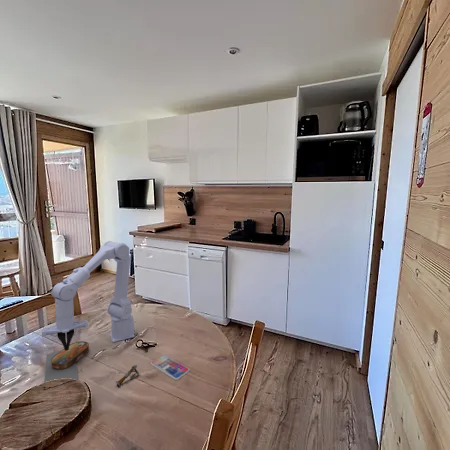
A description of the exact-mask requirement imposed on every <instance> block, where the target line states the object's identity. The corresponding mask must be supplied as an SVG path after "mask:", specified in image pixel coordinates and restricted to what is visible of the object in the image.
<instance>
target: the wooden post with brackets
mask: <svg viewBox="0 0 450 450" xmlns="http://www.w3.org/2000/svg"><path fill="white" fill-rule="evenodd" d="M136 375H140V373H139V370H138V364H134V365H132V366H131V368H130V369H129V371H127V372H126V373H125V374H124V376H122V377H121V378H120V379H119V380H118V381H117V380H116V381H115V384H116V385H118V387H119V388H121V387H122V386H121V385H122V384H123V383H124V381H125V380H126V379H128V378H129V380H130V381H131V380H133V379H134V378H135V377H136Z"/></svg>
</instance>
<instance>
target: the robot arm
mask: <svg viewBox="0 0 450 450" xmlns="http://www.w3.org/2000/svg"><path fill="white" fill-rule="evenodd" d="M106 260H114V261H115V262H116V269H115V270H116V273H115V281H114V282H115V283H114V284H115V285H114V293H113V294H114V296H113V297H112V298H111V299H110V300H109V305H108V306H107V313H108V314H109V315H110V319H111V320H110V321H111V332H110V333H109V335H110V339H111V342H112V343H116V342H119V341H120V342H121V341H122V340H123V341H124V340H128V339H132V338H135V336H136V335H135V320H134V316H133V314H132V313H133V311H132V310H133V309H132V306H131V305H132V301H131V300H130V299H129V298H128V292H129V291H128V288H129V279H130V268H131V256H130V247H129V246H128V245H127V244H125V243H122V242H115V241H111V240H108V241H106V242H104V244H103V245H101V246H100V248H99V250H98V251H97V252H96V254H94V255H93V257H91V258H90V259H89V261H87V262H86V263H85V265H84V266H82V267H81V266H80V267H77V268H74V269H73V270H72V273H70V274H69V275H68V276H67V277H66V278H64V279H63V280H62V281H61V282H57V283H56V284H55V285H54V286H53V288H52V289H51V291H50V294H51V296H52V297H53V298H54V305H55V325H54V326H50V327H47V328H44V329H42V330H41V337H42V338H45V337H46V336H51V335H55V334H57V336H56V337H57V339H58V340H59V341H60V342H61V345H62V346H63V349H64V350H65V351H66V350H69V345H70V344H71V343H72V342H71V341H72V339H73V338H74V337H73V336H74V335H75V330H78V329H80V328H88V327H89V323H88V320H87V319H86V320H81V321H80V320H78V321H75V313H74V312H75V311H74V310H75V309H74V308H75V307H74V298H75V296H76V295H77V292H78V290H79V288H80V287H82V286H83V284H85V283H86V281H87V280H89V279H90V277H91V272H93V271H94V270H95V269H96V268H98V267H99V266H101V264H102V263H103V262H104V261H106Z"/></svg>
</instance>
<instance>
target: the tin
mask: <svg viewBox="0 0 450 450" xmlns="http://www.w3.org/2000/svg"><path fill="white" fill-rule="evenodd" d="M89 345H90V344H89V342H87V341H82V340H80V341H76V342H71V343H70V345H69V350H66V351H65V350H64V348H63V349H62V350H59V351H60V352H59V353H58V354H56V355H55V356H53V357H52V359H51V363H52V368H54V369H65V368H68V367H70V366H72V365H73V364H74V363H76V362H78V361H79V360H80V359H82V358H83V357H84V356H86V354H87V353H88V352H89V349H90V347H89Z"/></svg>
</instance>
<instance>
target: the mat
mask: <svg viewBox="0 0 450 450" xmlns="http://www.w3.org/2000/svg"><path fill="white" fill-rule="evenodd" d="M60 351H61V350H59V351H55V352H51V353H47V354H46V357H45V358H46V359H45V371H44V380H43V381H44V382H46V381H50V380H54V379H61V378H72V379H78V380H79V375H78V374H79V373H78V363H77V362H78V361H77V362H76V363H74V364H73V365H72V366H70V367H68V368H65V369H54V368H52V363H51V359H52V357H53V356H55V355H56V354H58V353H59V352H60ZM44 382H43V383H44Z"/></svg>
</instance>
